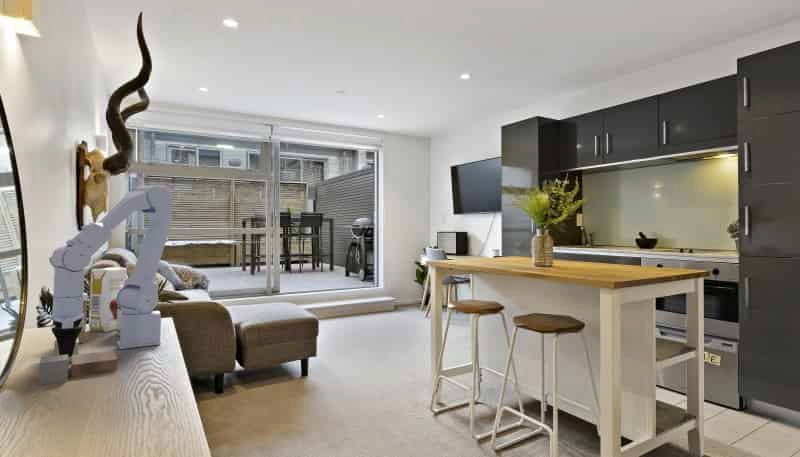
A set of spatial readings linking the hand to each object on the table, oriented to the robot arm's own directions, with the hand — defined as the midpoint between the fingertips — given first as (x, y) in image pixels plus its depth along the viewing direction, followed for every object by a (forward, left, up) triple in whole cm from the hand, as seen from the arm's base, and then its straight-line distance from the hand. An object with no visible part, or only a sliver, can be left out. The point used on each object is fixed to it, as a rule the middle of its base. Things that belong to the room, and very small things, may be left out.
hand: (66, 352), depth 101 cm
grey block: (+2, +15, -2) cm, 15 cm away
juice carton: (-10, -31, -2) cm, 33 cm away
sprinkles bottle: (-2, -17, -2) cm, 17 cm away
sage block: (0, 0, -2) cm, 2 cm away
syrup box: (-15, -21, -2) cm, 26 cm away
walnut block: (-5, +11, -2) cm, 12 cm away
